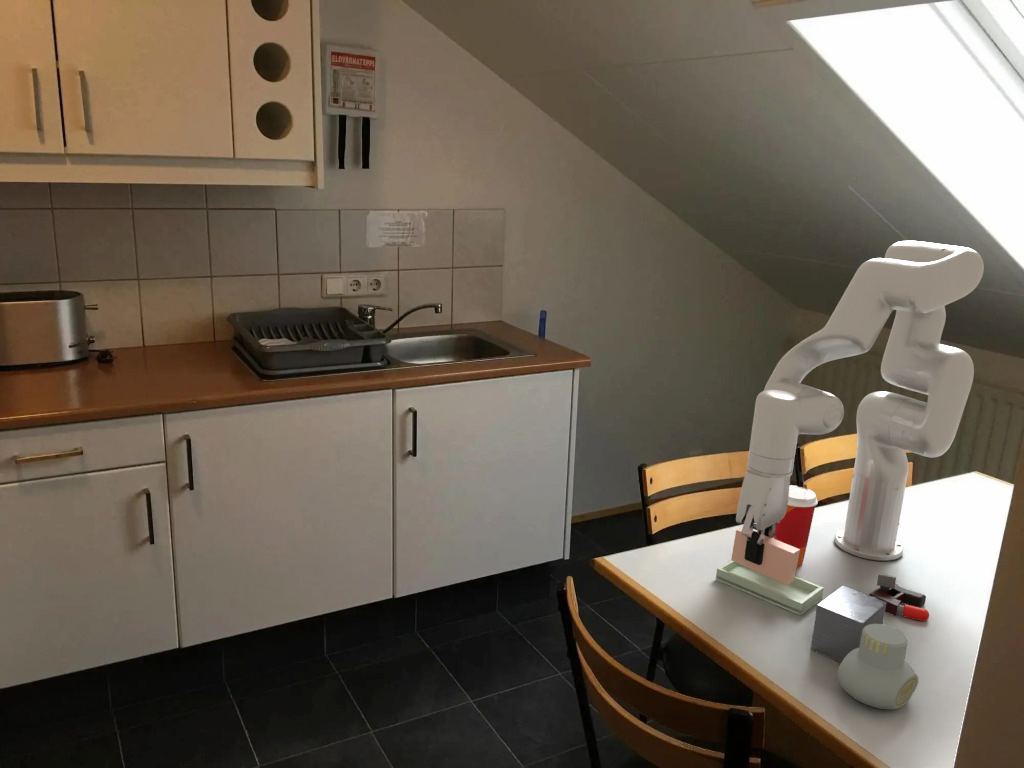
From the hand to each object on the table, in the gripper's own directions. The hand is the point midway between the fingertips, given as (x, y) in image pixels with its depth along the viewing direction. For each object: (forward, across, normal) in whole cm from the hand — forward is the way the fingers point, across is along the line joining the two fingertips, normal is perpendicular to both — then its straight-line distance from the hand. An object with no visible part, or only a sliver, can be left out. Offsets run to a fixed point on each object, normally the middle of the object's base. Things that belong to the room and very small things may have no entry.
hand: (756, 559), depth 149 cm
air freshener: (+5, +16, +28) cm, 33 cm away
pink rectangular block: (+2, 0, +1) cm, 2 cm away
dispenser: (+5, +8, +20) cm, 22 cm away
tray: (+5, 0, +3) cm, 6 cm away
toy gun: (+5, -11, +21) cm, 24 cm away
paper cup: (+5, -14, 0) cm, 14 cm away
